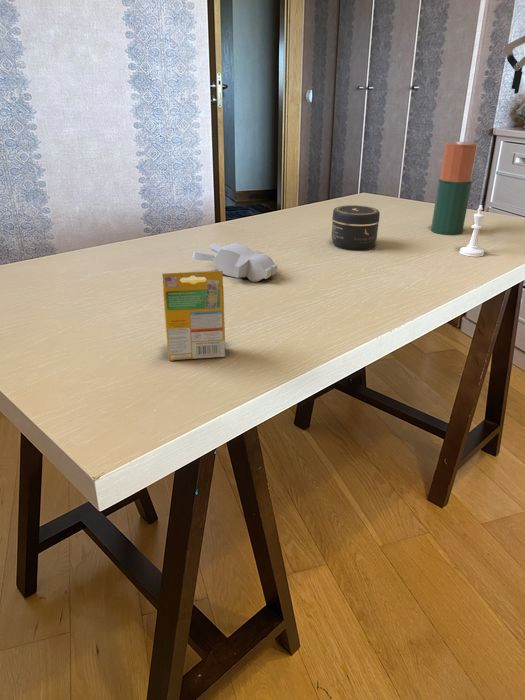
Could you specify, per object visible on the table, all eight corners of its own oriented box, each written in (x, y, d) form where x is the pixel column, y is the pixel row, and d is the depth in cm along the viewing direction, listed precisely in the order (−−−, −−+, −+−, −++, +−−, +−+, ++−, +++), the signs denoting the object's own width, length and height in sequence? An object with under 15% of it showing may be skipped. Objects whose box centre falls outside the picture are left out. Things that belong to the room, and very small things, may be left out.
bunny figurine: (260, 266, 89) (188, 243, 94) (257, 294, 91) (186, 269, 97) (286, 252, 96) (217, 231, 102) (282, 278, 99) (215, 256, 104)
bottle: (463, 229, 130) (476, 161, 122) (460, 236, 124) (473, 164, 116) (433, 226, 132) (444, 158, 125) (428, 233, 126) (440, 162, 119)
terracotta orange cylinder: (471, 178, 124) (478, 142, 120) (469, 183, 119) (476, 145, 115) (441, 176, 127) (447, 140, 123) (437, 180, 121) (443, 143, 117)
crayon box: (223, 347, 71) (221, 263, 65) (225, 357, 68) (224, 271, 63) (168, 350, 70) (161, 265, 64) (168, 361, 67) (161, 273, 62)
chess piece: (487, 253, 112) (497, 205, 107) (478, 258, 108) (488, 208, 104) (465, 248, 115) (474, 201, 110) (455, 253, 111) (464, 205, 107)
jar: (346, 253, 110) (349, 216, 107) (322, 241, 118) (324, 206, 115) (385, 248, 114) (389, 212, 111) (359, 237, 122) (362, 203, 119)
